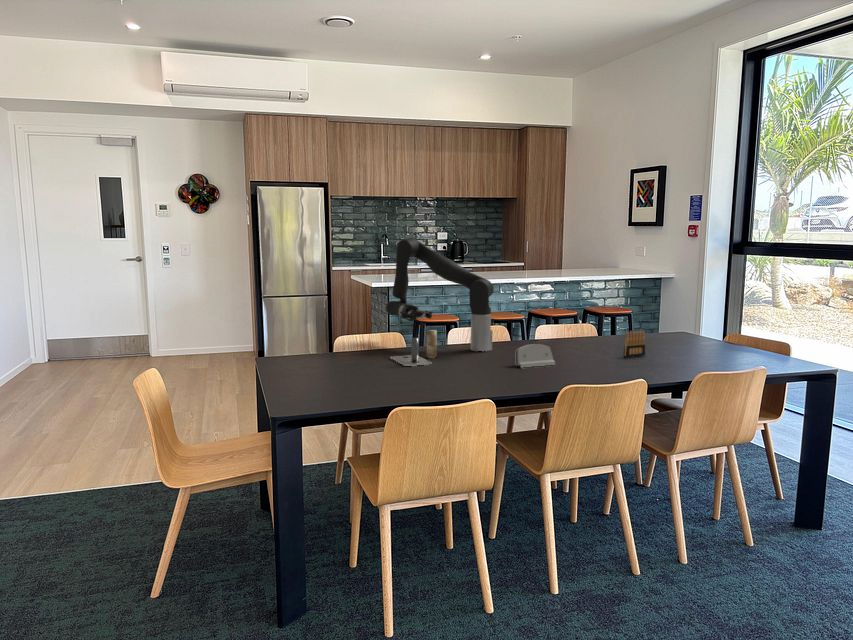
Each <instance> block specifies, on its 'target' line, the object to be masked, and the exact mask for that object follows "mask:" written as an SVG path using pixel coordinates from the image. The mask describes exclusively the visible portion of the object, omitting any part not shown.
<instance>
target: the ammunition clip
mask: <svg viewBox="0 0 853 640" xmlns="http://www.w3.org/2000/svg"><path fill="white" fill-rule="evenodd" d="M645 339H646V338H645V330H644V329H643V328H642V330H641V329H639V331H638V329H636V331H635V329H633V331H632V330H630V331H629V330H627V331H626V334H625V340H624V346H623V356H625V357H624V358H626V357H627V358H631V357H630V356H638V357H641V356H640V355H645V356H646V344H645V343H646V342H645Z"/></svg>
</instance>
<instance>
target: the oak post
mask: <svg viewBox="0 0 853 640" xmlns="http://www.w3.org/2000/svg"><path fill="white" fill-rule="evenodd" d="M437 335H438V331H437V329H428V330H426V358H427V357H428V358H427V359H431V358H433V359H436V358H435V357H437V356H438V353H437V352H438V351H437V350H438V349H437V348H438V345H437V344H438V336H437Z"/></svg>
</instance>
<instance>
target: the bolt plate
mask: <svg viewBox="0 0 853 640" xmlns="http://www.w3.org/2000/svg"><path fill="white" fill-rule="evenodd" d="M419 341H420V339H419V337H411V346H410V347H411V354H407V355H395V356H394V355H393V356H390V358H391V359H393V360H395V361H396V362H395V361H394V362H395V363H397V362H398V363H397V364H399V363H400V364H402V365H403V367H404V366H412V367H418V366H417V365H424V366H430V365H429V364H432V365H433V362H432V361H430V360H427V359H425V358H424V357H422V356H419V355H420V354H419V352H420V351H419V350H420V348H419V345H420V344H419ZM391 359H390V360H391ZM393 360H392V361H393ZM400 364H399V365H400ZM402 365H401V366H402Z"/></svg>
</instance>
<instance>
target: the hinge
mask: <svg viewBox="0 0 853 640" xmlns="http://www.w3.org/2000/svg"><path fill="white" fill-rule="evenodd" d="M514 355H515V356H514V358H515V359H514V362H515V363H514V366H515V365H516V366H515V367H520V369H521V368H522V369H524V368H523V367H532V366H545V365H556V361H555V360H554V357H553V354H552V350H551V347H550V346H549V345H546V344H539V343H532V344H526V345H523V346H521V347H518V348H516V349H515V351H514Z"/></svg>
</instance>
